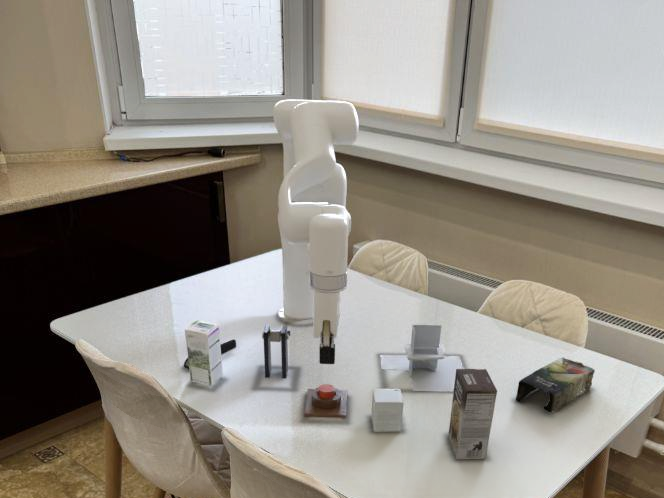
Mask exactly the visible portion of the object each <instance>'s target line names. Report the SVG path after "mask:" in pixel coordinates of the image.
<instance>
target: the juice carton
mask: <svg viewBox="0 0 664 498" xmlns="http://www.w3.org/2000/svg"><path fill="white" fill-rule="evenodd" d="M594 374H595V369H594V368H593V367H591V366H588V365H584V364H583V363H582V362H580V361H579V362H578V361H574V360H572V359H569V358H566V357H563V356H561V357H560V358H557V359H556V360H554V361H552V362H550V363H548V364H546V365H544V366H542V367H540V368H538V369H536V370H535V371H533V372H532V373H530V374H528V375H526V376H525V377H522V379H520V380H519V381H518V385H517V391H516V396H515V401H516V402H518V403H521V401H522V400H523V399H524V398H526V397H527V396H529V394H531V393H532V392H534V391H537V390H538V389H539V390H538V391H540V392H544V393H545V394H548V396H549V397H548V399H549V400H548V401H547V404H546V405H544V406H543V408H542V410H543V411H546V412H547V413H549V414H552V413H553V412H554V413H555V412H556V411H557V410H560V409H561V408H562V407H566V405H568V404H570V402H573V401H574V400H575V399H576V398H577V397H579V396H581V395H583V394H585V393H586V392H587V391H588V390H590V389H591V387H592V386H593V385H592V384H593V378H594ZM584 389H585V390H584ZM581 391H582V392H581ZM577 394H578V395H577Z"/></svg>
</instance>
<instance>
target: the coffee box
mask: <svg viewBox="0 0 664 498" xmlns="http://www.w3.org/2000/svg"><path fill="white" fill-rule="evenodd" d="M452 393H453V394H452V403H451V411H450V419H449V426H448V440H449V442H450V445H451V447H452V451H453V453H454V457H455V459H456V460H486V459H487V458H486V457H487V452H488V446H489V440H490V435H491V429H492V424H493V417H494V412H495V406H496V401H497V396H498V395H497V394H498V389H497V388H496V385H495V383H494V381H493V380H492V378H491V376H490V374H489V372H488V370H487V369H486V368H484V369H483V368H482V369H481V368H480V369H479V368H464V369H456V376H455V384H454V392H452Z"/></svg>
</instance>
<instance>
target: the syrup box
mask: <svg viewBox="0 0 664 498" xmlns="http://www.w3.org/2000/svg"><path fill="white" fill-rule="evenodd" d="M184 332H185V333H184V334H185V341H186V342H185V343H186V351H187V358H188V361H189V370H188V371H189V378H190V382H193V383H197V384H201V385H206V386H211V387H212V386H214V385H215V384H216V383H217V382H218V381H219V380H220V379H222V377H224V371H223V362H222V359H223V358H222V355H221V346H220V344H221V333H220V325H219V324H218V323H213V322H208V321H202V320H195V321H194V322H192V323H191V324H189V325H188V326H187V327H186V328H184Z"/></svg>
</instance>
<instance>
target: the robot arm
mask: <svg viewBox="0 0 664 498" xmlns="http://www.w3.org/2000/svg"><path fill="white" fill-rule="evenodd" d="M272 117H273V122H274V126H275V128H276V131H277V134H278V135H279V138H280V141H281V143H282V149H283V180H282V182H281V185H280V187H279V191H278V195H277V196H278V197H277V206H278V213H277V223H278V230H279V236H280V243H281V259H282V260H281V261H282V303H283V307H282V308H280V309H279V310H278V312H277V317H278V318H283V319H284V318H286V319H287V318H288V319H292V320H309V319H312V320H313V321H312V322H313V323H312V326H313V327H312V337H313V339H319V338H320V343H319V357H318V358H319V359H318V361H319V362H318V363H319V364H320V365H335V364H336V363H335V362H336V361H335V359H336V344H335V339H336V338H337V337H338V330H339V323H340V316H341V315H340V313H341V295H342V293H341V292H343V291H345V290H346V289H347V287H348V254H349V253H348V251H349V235H350V234H351V231H352V216H351V213H349V211H348V209H347V191H348V181H347V180H348V179H347V175H346V170H345V169H344V166H342V165H341V164H340V163H337V159H336V154H335V147H334V145H339V146H341V145H342V146H344V145H345V146H347V145H348V146H349V145H353V144H354V143H356V141H357V139H358V137H359V130H360V127H359V126H360V123H359V117H358V113H357V110H356V108H355V106H354V105H353V104H352V103H350V102H347V101H345V100H344V101H343V100H342V101H341V100H315V99H284V100H280V101H278V102H277V103H275V105H274V107H273V115H272Z"/></svg>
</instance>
